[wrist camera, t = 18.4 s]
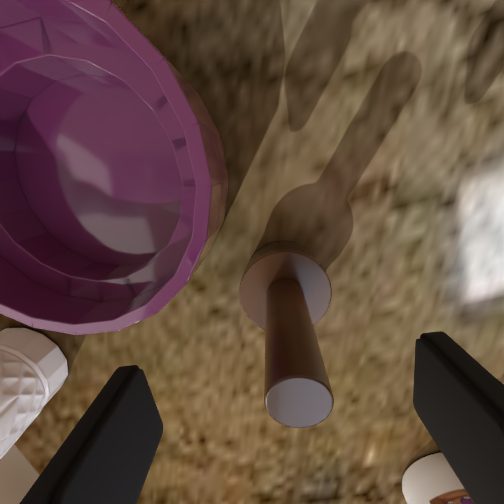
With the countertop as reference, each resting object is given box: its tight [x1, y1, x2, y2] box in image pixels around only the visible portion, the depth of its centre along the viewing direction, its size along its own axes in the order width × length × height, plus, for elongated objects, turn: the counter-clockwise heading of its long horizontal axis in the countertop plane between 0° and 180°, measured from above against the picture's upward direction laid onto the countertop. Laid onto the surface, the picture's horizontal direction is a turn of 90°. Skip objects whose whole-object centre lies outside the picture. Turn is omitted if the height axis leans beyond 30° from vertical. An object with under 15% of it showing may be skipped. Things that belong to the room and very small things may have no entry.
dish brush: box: [239, 241, 334, 428], centre depth 13 cm, size 5×5×10 cm
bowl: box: [0, 0, 229, 335], centre depth 14 cm, size 15×15×6 cm
